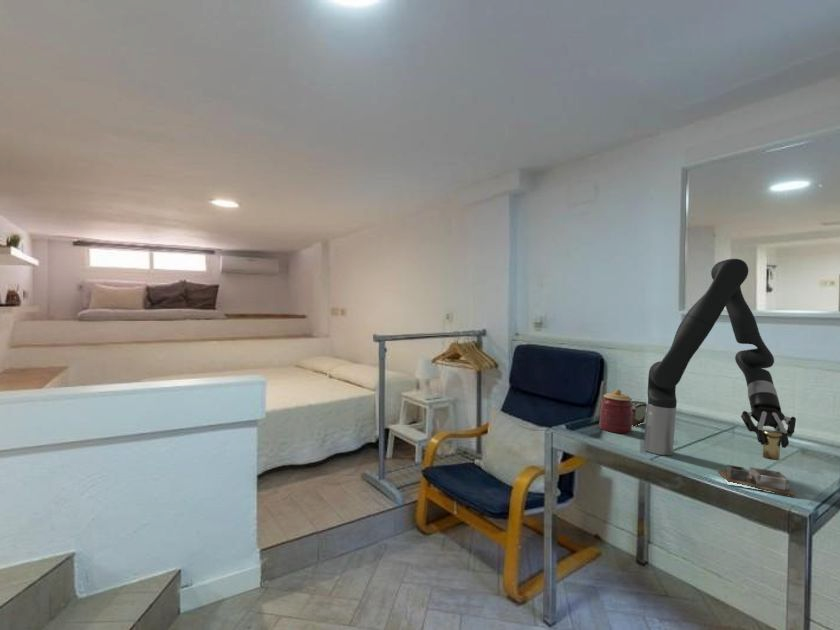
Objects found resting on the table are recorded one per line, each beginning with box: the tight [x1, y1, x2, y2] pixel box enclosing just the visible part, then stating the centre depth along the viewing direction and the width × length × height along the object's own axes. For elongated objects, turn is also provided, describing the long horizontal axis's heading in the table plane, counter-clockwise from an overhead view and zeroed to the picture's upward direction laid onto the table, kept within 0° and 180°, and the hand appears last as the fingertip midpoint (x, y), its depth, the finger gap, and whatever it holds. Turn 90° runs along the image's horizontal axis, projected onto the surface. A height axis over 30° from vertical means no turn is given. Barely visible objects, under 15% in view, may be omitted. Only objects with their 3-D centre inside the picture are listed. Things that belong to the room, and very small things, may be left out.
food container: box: [631, 400, 648, 427], centre depth 200 cm, size 12×6×10 cm, turn 130°
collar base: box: [717, 464, 795, 497], centre depth 133 cm, size 16×12×4 cm
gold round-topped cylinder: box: [762, 429, 782, 461], centre depth 132 cm, size 5×5×8 cm
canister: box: [598, 388, 634, 435], centre depth 188 cm, size 13×13×18 cm
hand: (774, 444), depth 130 cm, fingers closed on gold round-topped cylinder, 4 cm apart
